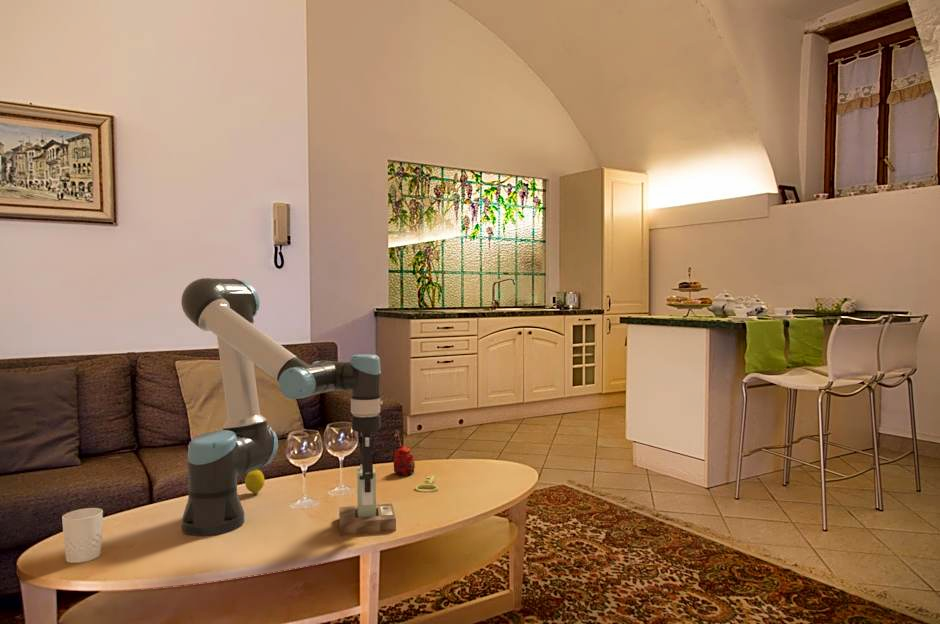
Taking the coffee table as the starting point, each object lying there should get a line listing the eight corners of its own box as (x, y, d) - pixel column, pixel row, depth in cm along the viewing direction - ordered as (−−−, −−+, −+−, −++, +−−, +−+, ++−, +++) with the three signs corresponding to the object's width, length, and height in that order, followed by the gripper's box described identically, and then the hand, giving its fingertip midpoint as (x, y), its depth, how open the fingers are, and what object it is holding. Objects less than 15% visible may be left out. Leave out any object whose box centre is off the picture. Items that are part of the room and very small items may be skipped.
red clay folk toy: (410, 477, 203) (410, 432, 203) (389, 476, 205) (389, 431, 205) (417, 471, 211) (417, 427, 210) (397, 470, 212) (397, 426, 212)
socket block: (339, 535, 154) (339, 521, 154) (339, 518, 165) (339, 505, 165) (396, 530, 156) (395, 517, 156) (392, 514, 168) (392, 502, 168)
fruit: (248, 491, 189) (248, 465, 189) (266, 490, 190) (266, 464, 189) (242, 496, 184) (242, 470, 184) (261, 496, 184) (261, 469, 184)
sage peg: (358, 528, 158) (357, 473, 158) (357, 521, 163) (357, 468, 162) (376, 526, 159) (375, 472, 159) (375, 520, 164) (374, 467, 163)
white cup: (54, 561, 139) (54, 516, 139) (88, 548, 146) (88, 506, 146) (78, 566, 136) (77, 521, 136) (111, 553, 143) (110, 510, 143)
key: (434, 481, 200) (434, 474, 200) (439, 493, 188) (439, 486, 188) (412, 482, 199) (412, 476, 199) (415, 494, 187) (415, 487, 187)
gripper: (383, 423, 149) (384, 510, 149) (377, 405, 173) (378, 481, 174) (352, 424, 147) (352, 513, 148) (350, 406, 172) (350, 482, 172)
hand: (366, 496), depth 161 cm, fingers open, 13 cm apart
